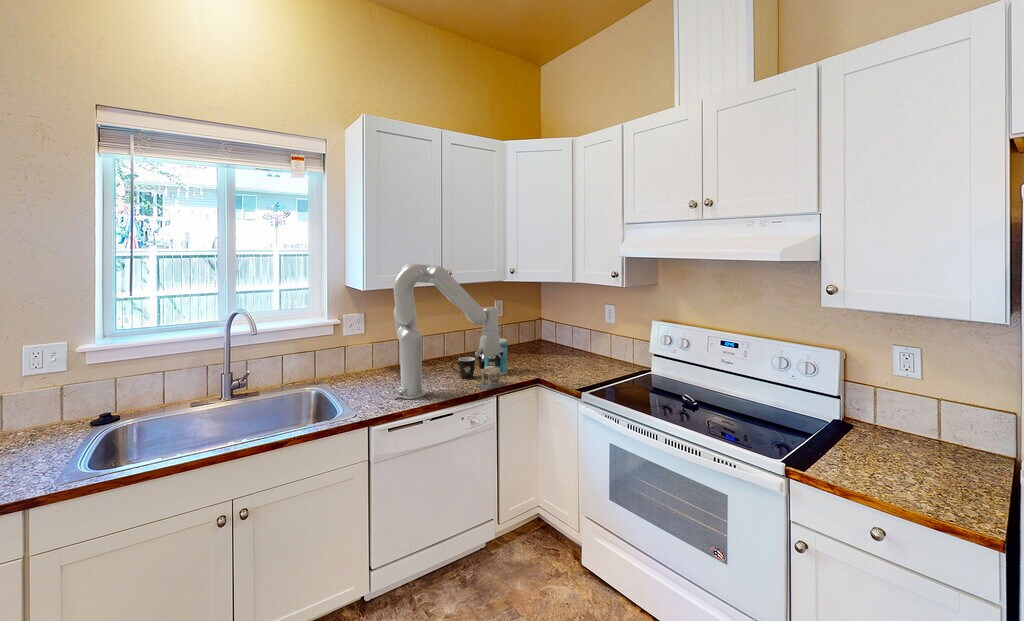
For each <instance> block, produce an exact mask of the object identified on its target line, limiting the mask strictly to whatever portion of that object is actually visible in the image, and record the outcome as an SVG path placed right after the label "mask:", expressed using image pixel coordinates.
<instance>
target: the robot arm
mask: <svg viewBox="0 0 1024 621" xmlns="http://www.w3.org/2000/svg"><path fill="white" fill-rule="evenodd" d="M417 283H423V284H425V283H427V284H432V285H434V286H435V287H436V289H438V291H439V292H440V293H441V294H442V295H443V296H444V298H446V299H447V300H448V301H449V302H450V303H451V304H452V305H454V306H456V307H457V308H458V309H459V310H461V311H462V313H464V314H465V318H466V319H467V321H469V322H470V323H472V324H474V325H476V326H481V325H482V335H481V336H480V339H479V344H478V349H477V351H475V352H474V355H475V357H476V358H475V359H477V361H478V365H479V366H478V367H479V369H481V370H482V369H484V367H485V357H489V356H496V357H495V365H496V366H500V358H501V356H502V355H503V352H504V348H503V347H501V346H500V339H499V338H500V335H499V333H500V329H499V309H498V308H497V307H496V306H487V307H485V306H484V307H482V306H481V305H480V304H479V303H478V302H477V301H476V300H475V298H473V297H472V296H471V295H470V294H469V293H468V292H467V291H466V289H464V288H463V287H462V286H461V284H459V282H457V280H456V279H455V278H454V277H453V276H452V275H451V274H450V273H449V272H448V271H447V270H446V268H445V267H443V266H441V265H436V264H435V265H431V264H418V263H407V264H405V265H403V266H402V267H401V271H400V273H398V275H397V276H396V278H395V280H394V284H393V297H394V298H393V299H394V305H395V306H394V309H393V319H394V324H395V330H396V331H395V332H396V337H397V339H398V341H399V362H400V365H399V367H400V385H399V387H398V388H396V389H392V390H391V391H390V393H391V395H395V394H396V395H397V396H398V397H399V398H400V399H404V400H405V399H406V400H413V399H419V398H422V397H425V396H426V395H427V391H426V390H425V388H424V389H423V369H422V368H423V365H422V364H423V360H422V346H423V341H422V340H423V339H422V334H421V332H420V330H418V328H417V323H416V320H417V317H418V314H417V313H418V312H417V309H416V303H415V296H414V287H415V285H416V284H417Z"/></svg>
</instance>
